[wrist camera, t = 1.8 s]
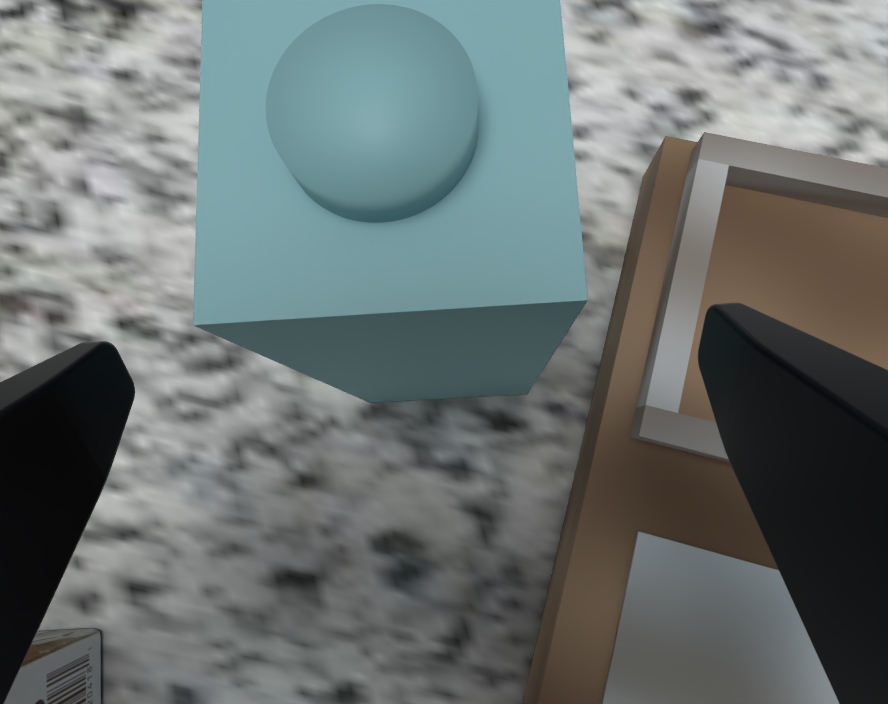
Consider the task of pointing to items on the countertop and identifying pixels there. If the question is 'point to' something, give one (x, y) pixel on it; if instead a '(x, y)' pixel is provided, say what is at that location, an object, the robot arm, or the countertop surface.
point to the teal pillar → (389, 192)
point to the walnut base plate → (702, 432)
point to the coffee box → (60, 669)
